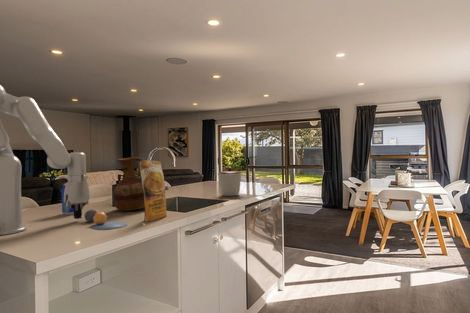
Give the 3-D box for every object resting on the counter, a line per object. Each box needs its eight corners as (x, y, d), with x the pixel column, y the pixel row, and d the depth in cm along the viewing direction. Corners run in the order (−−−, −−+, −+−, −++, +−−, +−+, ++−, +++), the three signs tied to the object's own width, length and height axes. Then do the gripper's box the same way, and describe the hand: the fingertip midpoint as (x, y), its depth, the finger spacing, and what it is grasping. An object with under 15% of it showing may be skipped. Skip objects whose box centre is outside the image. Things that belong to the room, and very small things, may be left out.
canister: (246, 194, 225) (246, 166, 225) (233, 197, 210) (233, 167, 210) (226, 193, 235) (226, 166, 235) (213, 196, 219) (212, 167, 219)
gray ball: (85, 207, 139) (80, 219, 137) (92, 208, 136) (87, 220, 134) (94, 211, 143) (90, 222, 141) (102, 212, 140) (97, 223, 138)
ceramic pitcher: (107, 210, 168) (107, 157, 168) (140, 205, 183) (139, 156, 183) (124, 214, 155) (123, 156, 155) (158, 208, 170) (157, 156, 170)
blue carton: (83, 212, 163) (82, 182, 163) (73, 215, 155) (73, 184, 155) (69, 212, 164) (68, 183, 164) (58, 215, 156) (57, 184, 156)
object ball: (92, 225, 132) (100, 227, 129) (89, 215, 130) (97, 216, 128) (102, 219, 136) (110, 221, 134) (99, 208, 135) (107, 210, 132)
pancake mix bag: (135, 222, 136) (134, 160, 136) (160, 214, 153) (159, 159, 153) (147, 223, 133) (145, 160, 133) (171, 215, 151) (170, 159, 151)
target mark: (116, 230, 121) (116, 229, 121) (84, 229, 123) (84, 229, 123) (133, 222, 135) (133, 222, 135) (104, 222, 137) (104, 221, 137)
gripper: (86, 177, 148) (87, 214, 148) (56, 180, 134) (56, 220, 135) (96, 177, 144) (97, 215, 144) (66, 180, 131) (67, 222, 131)
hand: (77, 218), depth 139 cm, fingers closed
